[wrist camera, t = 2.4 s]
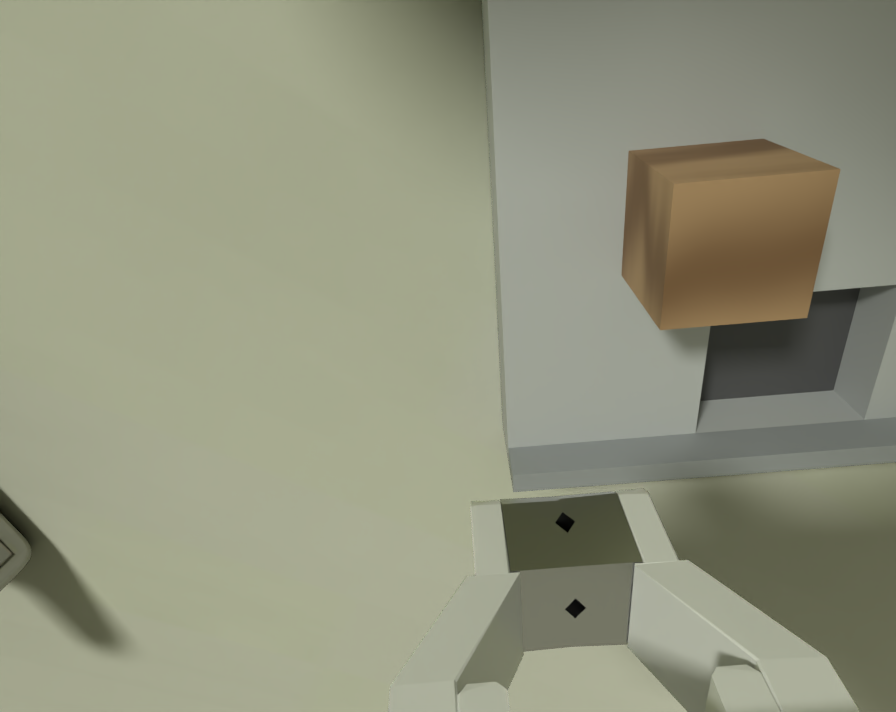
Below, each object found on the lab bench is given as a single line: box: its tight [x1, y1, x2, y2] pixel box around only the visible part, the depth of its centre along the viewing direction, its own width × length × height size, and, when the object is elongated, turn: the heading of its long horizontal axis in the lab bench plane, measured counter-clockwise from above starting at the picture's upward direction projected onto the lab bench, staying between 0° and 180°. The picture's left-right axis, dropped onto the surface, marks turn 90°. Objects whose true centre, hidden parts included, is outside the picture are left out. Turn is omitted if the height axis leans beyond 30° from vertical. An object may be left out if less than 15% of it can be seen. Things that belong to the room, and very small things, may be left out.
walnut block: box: [621, 139, 841, 330], centre depth 22 cm, size 5×5×5 cm
